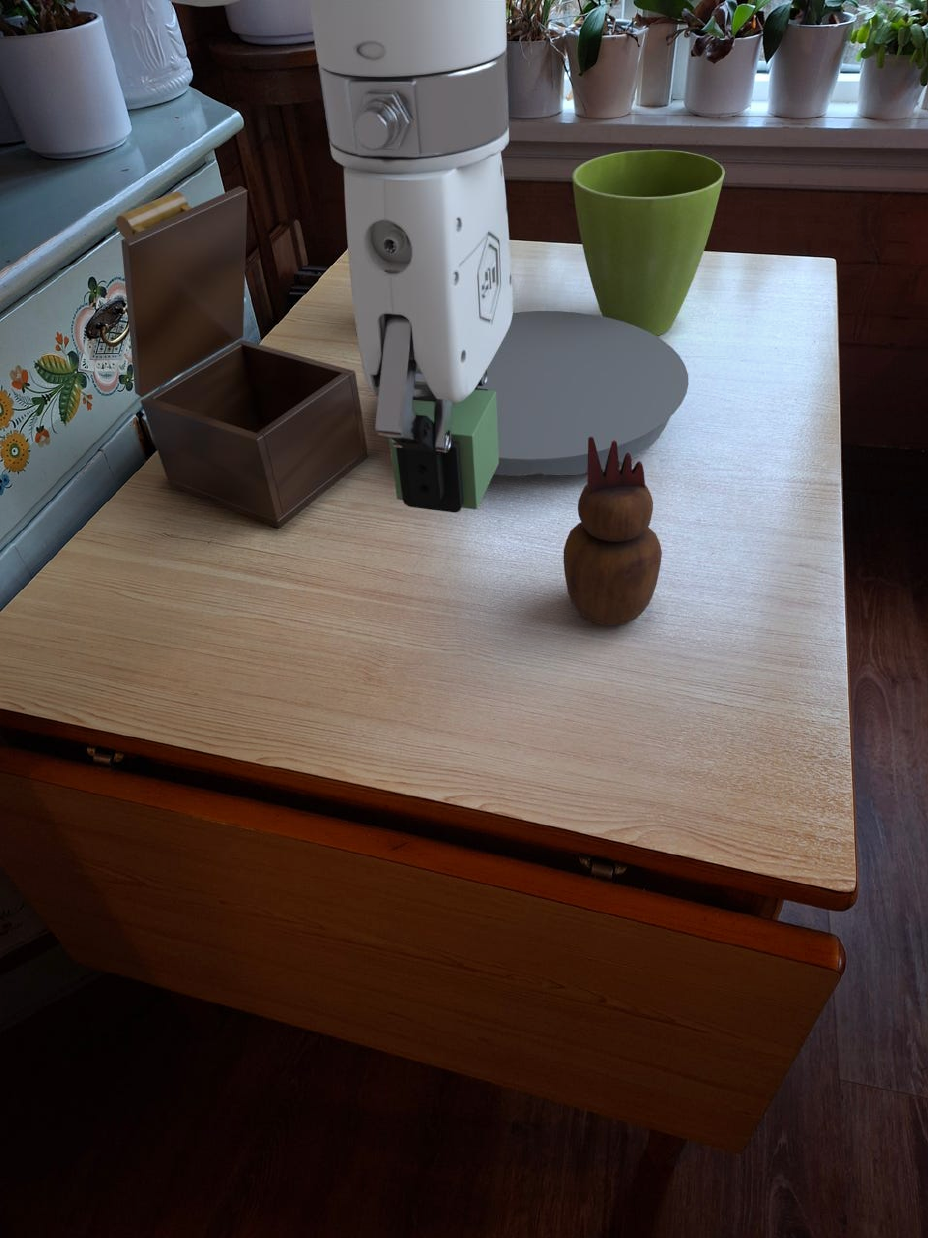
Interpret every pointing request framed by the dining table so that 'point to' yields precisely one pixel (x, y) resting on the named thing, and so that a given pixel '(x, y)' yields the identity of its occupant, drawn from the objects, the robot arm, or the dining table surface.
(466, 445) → the block
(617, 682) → the dining table surface
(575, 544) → the wooden figurine
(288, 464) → the chest
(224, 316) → the lid
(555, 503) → the dining table surface
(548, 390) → the flat disc
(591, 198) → the flower pot
